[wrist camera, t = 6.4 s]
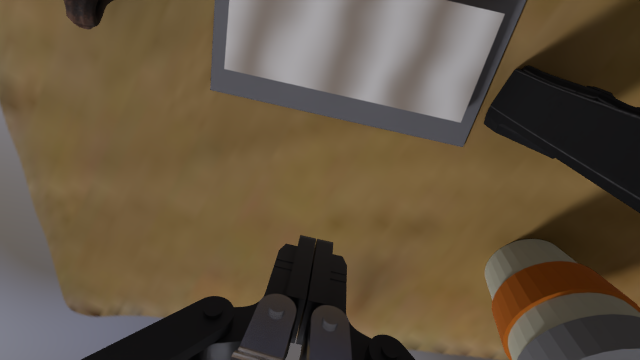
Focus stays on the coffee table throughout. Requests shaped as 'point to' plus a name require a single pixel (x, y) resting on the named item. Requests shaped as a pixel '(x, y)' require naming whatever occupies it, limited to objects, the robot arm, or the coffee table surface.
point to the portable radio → (573, 128)
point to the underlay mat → (357, 110)
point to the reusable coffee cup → (558, 307)
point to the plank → (367, 49)
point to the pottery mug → (85, 12)
